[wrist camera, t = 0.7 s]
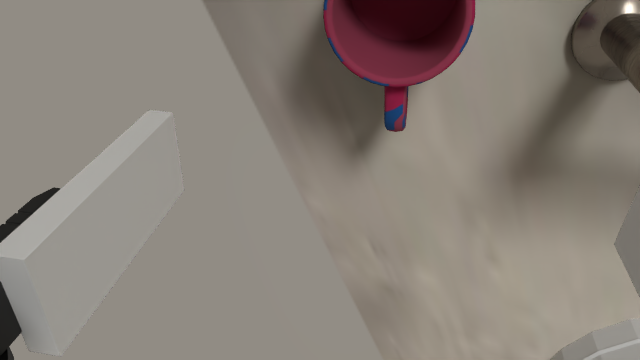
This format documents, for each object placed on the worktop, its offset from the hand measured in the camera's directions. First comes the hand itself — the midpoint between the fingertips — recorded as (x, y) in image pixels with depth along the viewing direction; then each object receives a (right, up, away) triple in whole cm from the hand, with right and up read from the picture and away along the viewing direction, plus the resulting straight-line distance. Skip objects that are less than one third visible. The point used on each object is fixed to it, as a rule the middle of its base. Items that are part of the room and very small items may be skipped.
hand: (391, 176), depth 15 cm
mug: (+3, +10, +15) cm, 18 cm away
